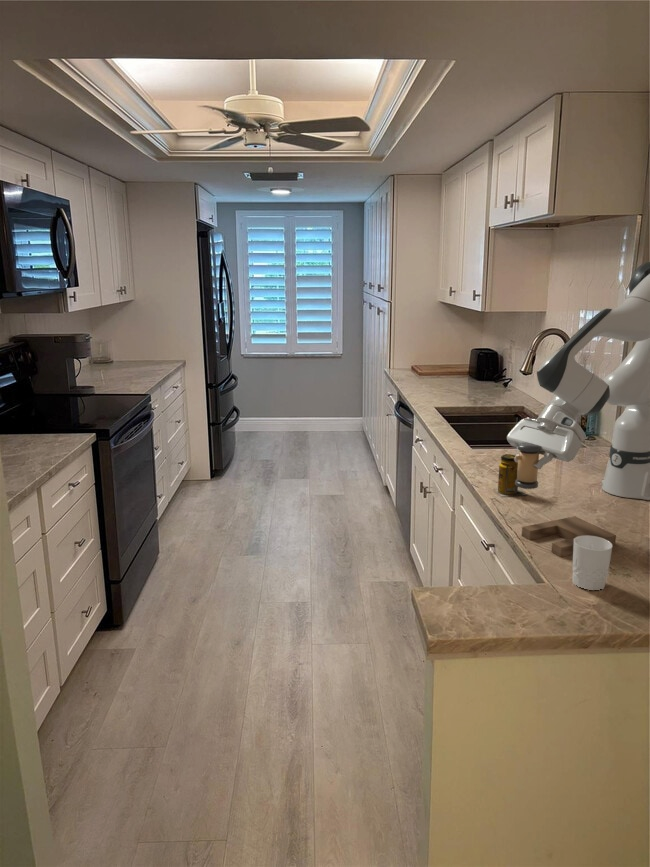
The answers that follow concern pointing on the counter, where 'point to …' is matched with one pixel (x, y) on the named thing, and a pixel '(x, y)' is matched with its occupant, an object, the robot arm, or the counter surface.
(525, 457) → the tan grey capped cylinder
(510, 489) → the condiment
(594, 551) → the white cup
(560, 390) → the robot arm
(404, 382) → the counter surface
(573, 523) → the notched board
